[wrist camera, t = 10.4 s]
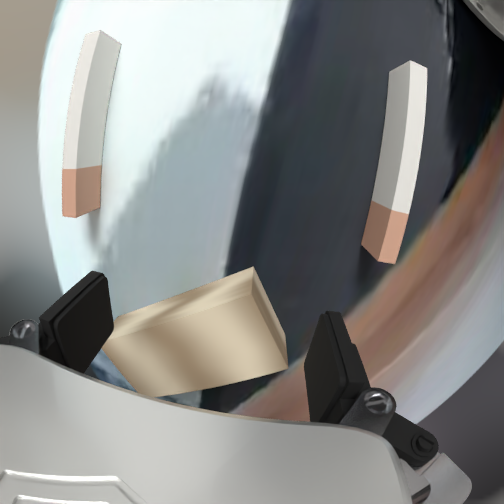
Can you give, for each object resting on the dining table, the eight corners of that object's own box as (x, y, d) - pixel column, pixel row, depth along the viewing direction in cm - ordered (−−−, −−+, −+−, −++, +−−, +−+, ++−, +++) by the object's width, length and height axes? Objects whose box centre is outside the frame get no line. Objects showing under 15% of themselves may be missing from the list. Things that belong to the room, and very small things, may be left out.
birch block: (253, 264, 18) (251, 293, 14) (284, 332, 20) (288, 368, 16) (119, 314, 20) (97, 342, 16) (157, 367, 22) (143, 398, 18)
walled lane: (404, 78, 13) (427, 68, 10) (376, 246, 17) (394, 263, 14) (107, 46, 13) (85, 34, 10) (87, 206, 17) (62, 216, 14)
